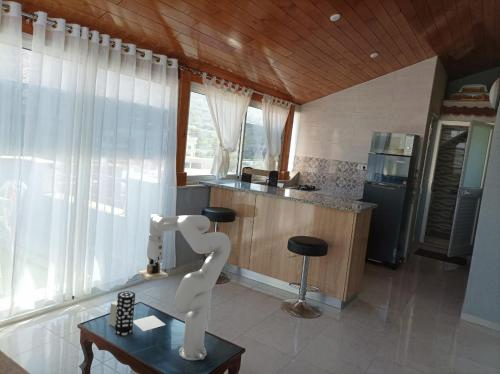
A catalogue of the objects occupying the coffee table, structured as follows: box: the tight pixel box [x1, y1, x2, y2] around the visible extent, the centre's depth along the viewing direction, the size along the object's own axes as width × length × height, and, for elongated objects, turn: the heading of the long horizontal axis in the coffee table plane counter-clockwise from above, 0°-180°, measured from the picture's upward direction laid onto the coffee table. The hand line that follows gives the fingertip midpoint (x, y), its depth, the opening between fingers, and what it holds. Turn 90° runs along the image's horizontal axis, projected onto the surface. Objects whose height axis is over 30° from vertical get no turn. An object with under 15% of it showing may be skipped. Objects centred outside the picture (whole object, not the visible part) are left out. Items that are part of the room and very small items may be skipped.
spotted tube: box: [114, 290, 136, 337], centre depth 178 cm, size 8×8×20 cm
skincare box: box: [108, 300, 117, 328], centre depth 187 cm, size 6×4×12 cm
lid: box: [138, 263, 169, 281], centre depth 189 cm, size 11×11×6 cm
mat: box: [133, 315, 166, 332], centre depth 191 cm, size 13×13×1 cm
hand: (153, 271), depth 189 cm, fingers closed on lid, 3 cm apart
